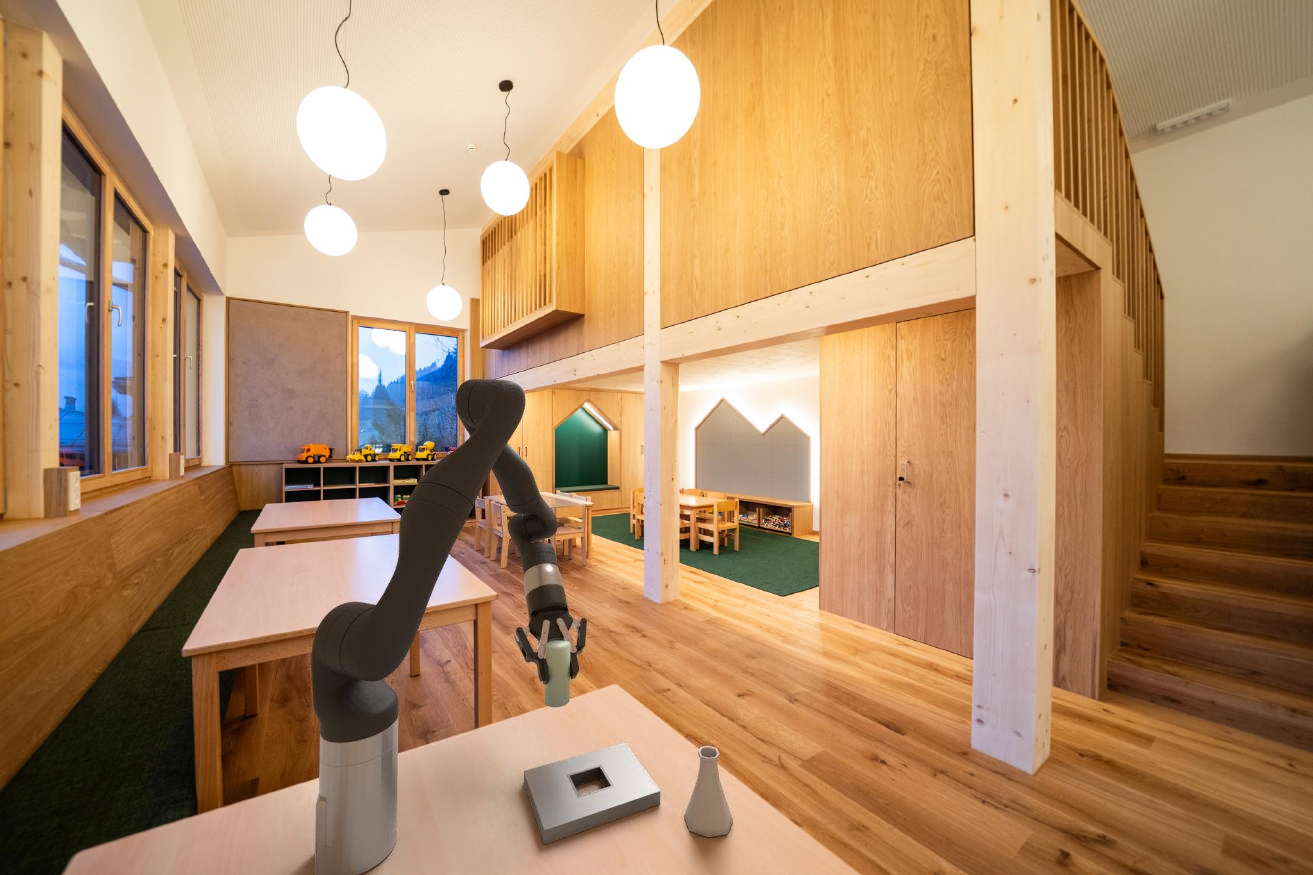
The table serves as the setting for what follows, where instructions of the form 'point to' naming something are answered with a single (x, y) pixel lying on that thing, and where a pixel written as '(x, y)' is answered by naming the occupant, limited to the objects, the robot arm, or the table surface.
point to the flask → (708, 798)
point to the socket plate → (573, 813)
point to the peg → (558, 673)
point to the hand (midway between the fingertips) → (560, 679)
